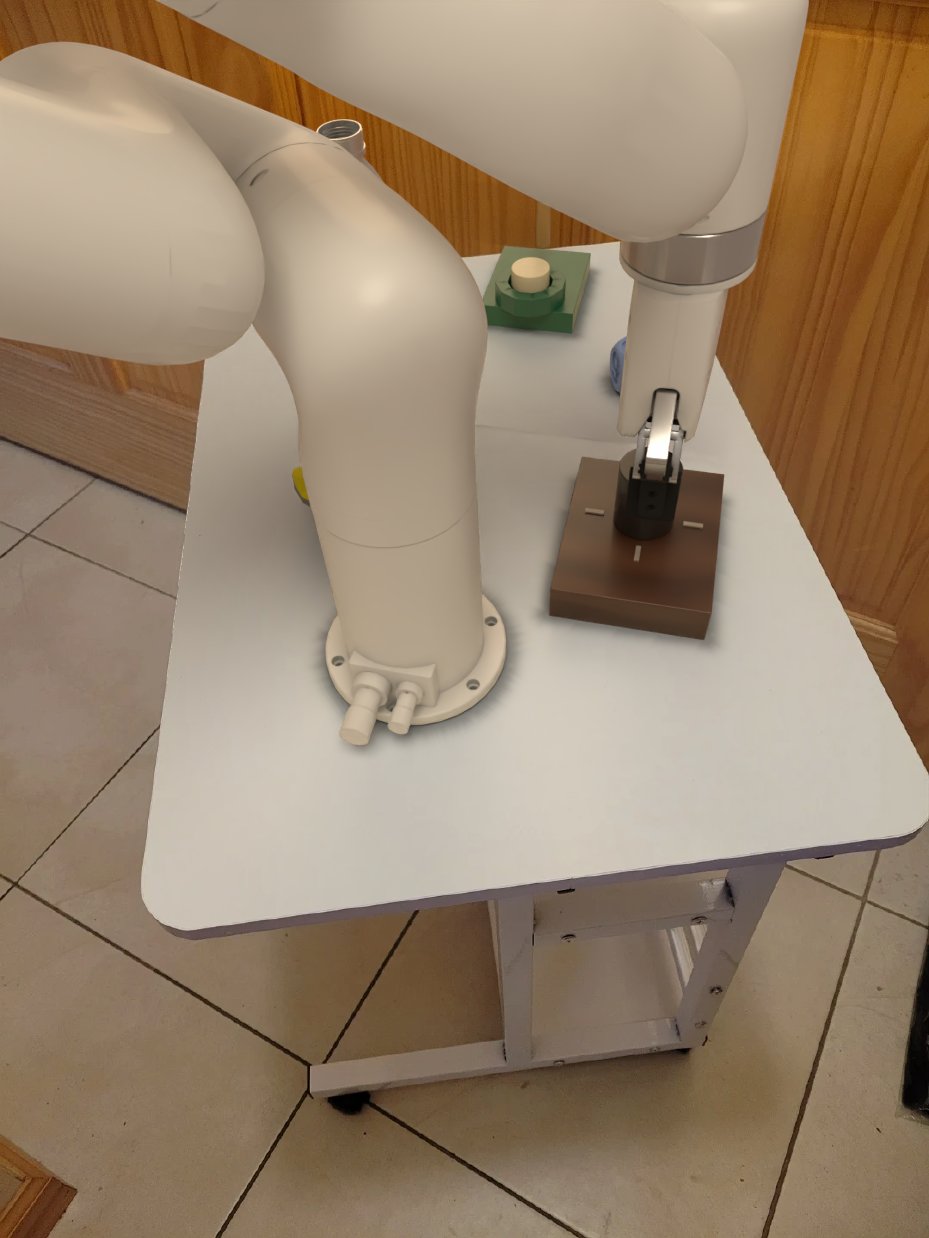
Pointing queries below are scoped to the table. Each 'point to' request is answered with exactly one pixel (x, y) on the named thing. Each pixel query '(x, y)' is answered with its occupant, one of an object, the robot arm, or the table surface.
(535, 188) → the robot arm
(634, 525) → the dimmer knob
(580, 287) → the lamp base
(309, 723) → the table surface
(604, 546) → the dimmer panel
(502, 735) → the table surface
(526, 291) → the lamp switch
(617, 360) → the decorative dice
